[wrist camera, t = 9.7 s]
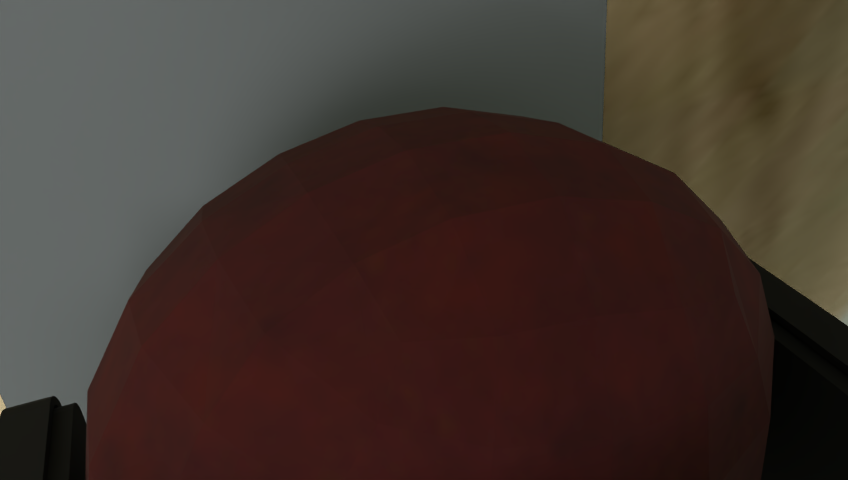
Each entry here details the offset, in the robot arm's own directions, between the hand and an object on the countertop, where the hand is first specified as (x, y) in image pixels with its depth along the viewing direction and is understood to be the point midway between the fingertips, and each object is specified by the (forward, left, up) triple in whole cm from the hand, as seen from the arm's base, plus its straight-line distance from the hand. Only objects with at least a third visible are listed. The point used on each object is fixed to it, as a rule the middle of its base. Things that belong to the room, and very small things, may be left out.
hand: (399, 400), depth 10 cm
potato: (0, 0, -2) cm, 2 cm away
